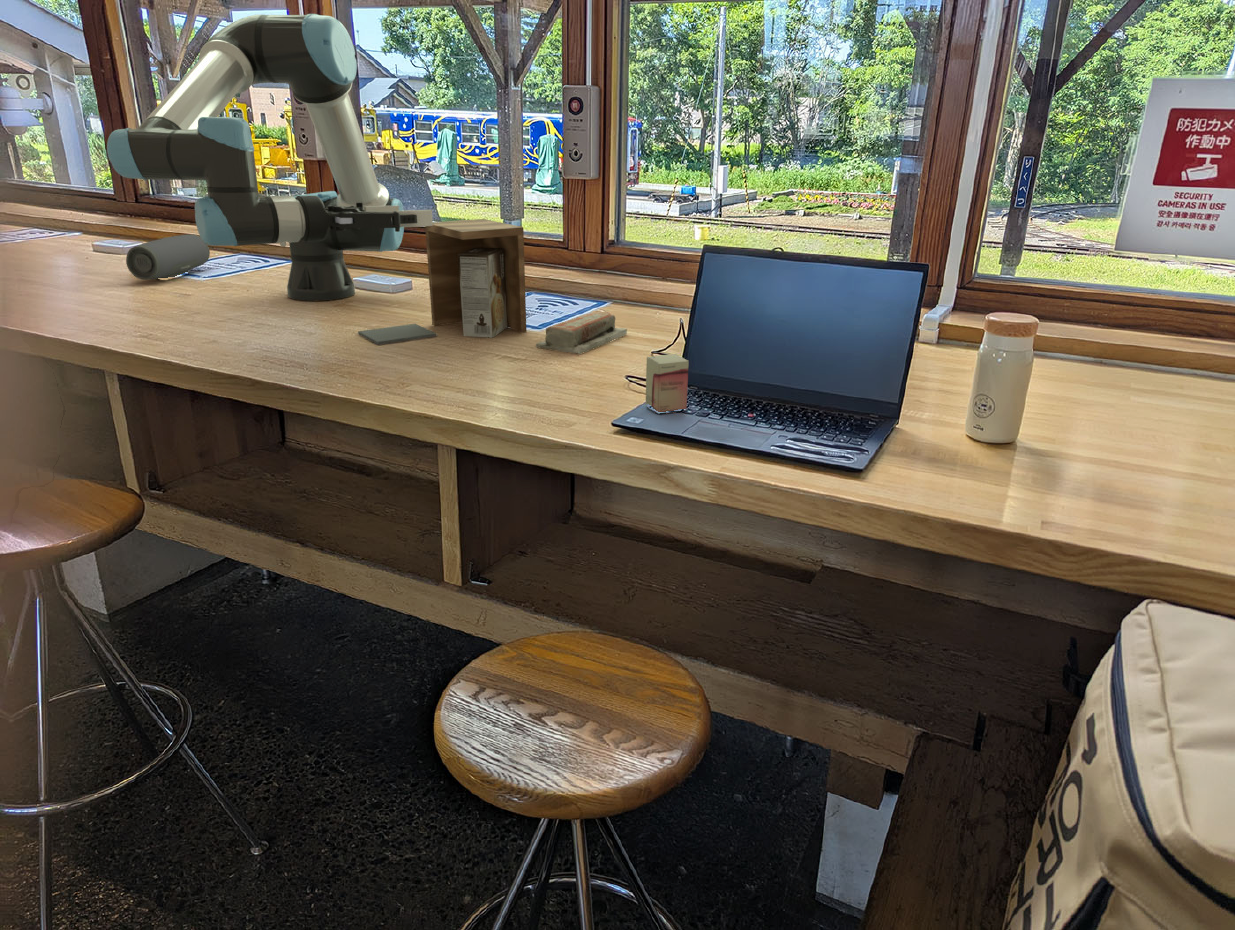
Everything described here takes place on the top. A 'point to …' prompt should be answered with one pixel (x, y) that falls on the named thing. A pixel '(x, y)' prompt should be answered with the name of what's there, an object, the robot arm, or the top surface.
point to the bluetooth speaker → (167, 257)
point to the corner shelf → (444, 266)
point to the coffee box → (483, 291)
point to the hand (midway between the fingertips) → (414, 215)
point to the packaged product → (582, 333)
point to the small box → (667, 382)
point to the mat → (396, 334)
